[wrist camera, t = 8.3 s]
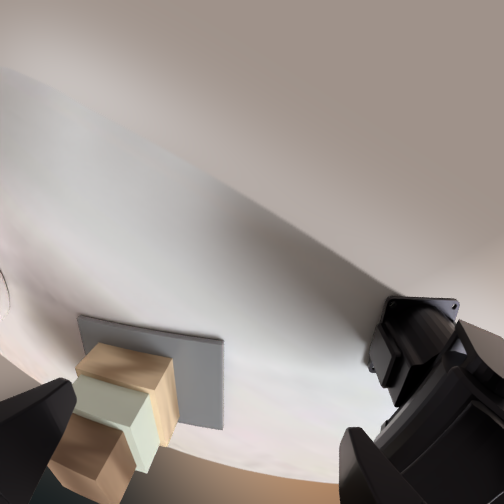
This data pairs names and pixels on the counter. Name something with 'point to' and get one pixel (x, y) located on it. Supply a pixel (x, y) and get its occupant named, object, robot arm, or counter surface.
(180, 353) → the slate board
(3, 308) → the pill bottle
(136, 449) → the tower mid
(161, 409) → the tower base
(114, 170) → the counter surface
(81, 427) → the walnut block
